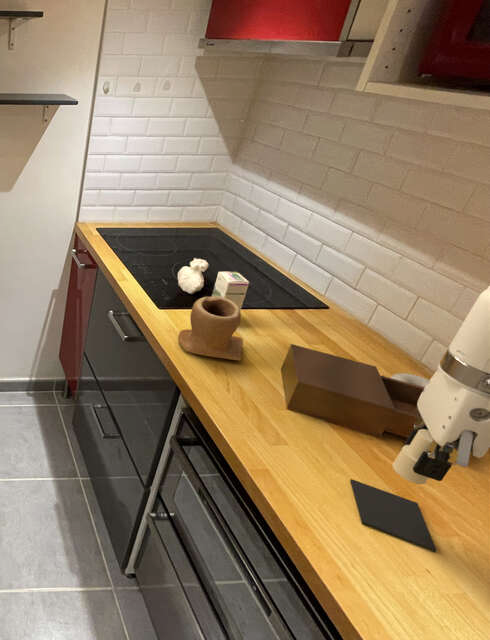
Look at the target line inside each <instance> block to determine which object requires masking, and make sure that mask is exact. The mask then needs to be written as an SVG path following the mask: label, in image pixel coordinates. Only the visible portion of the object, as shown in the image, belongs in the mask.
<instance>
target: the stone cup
mask: <svg viewBox="0 0 490 640" xmlns="http://www.w3.org/2000/svg"><path fill="white" fill-rule="evenodd" d="M241 321H242V313H241V310H240V308H239V307H238V306H237V305H236V304H235V303H234V302H233V301H231V300H229V299H226V298H223V297H218V296H214V297H212V296H203V297H200V298H199V299H198V298H197V300H196V301H195V302H194V303H193V305H192V308H191V312H190V327H191V329H182V330H180V331H179V333H178V343H179V345H180V346H181V347H182V348H183V349H184V350H185V351H186V352H188V353H191V354H194V355H199V356H204V357H210V358H217V359H224V360H232V361H241V359H242V348H243V346H244V339H243V338H242V337H241V336H235V335H234V333H235V332H236V331H237V330H238V328H239V326H240V324H241Z"/></svg>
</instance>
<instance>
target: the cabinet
mask: <svg viewBox="0 0 490 640" xmlns="http://www.w3.org/2000/svg"><path fill="white" fill-rule="evenodd" d="M280 373H281V379H282V381H281V382H282V386H283V394H284V399H285V400H284V401H285V406H286V407H285V408H286V409H287V410H290V411H294V412H296V413H299V414H301V415H305V416H308V417H311V418H315V419H318V420H320V421H324V422H327V423H331V424H333V425H337V426H340V427H342V428H346V429H348V430H352V431H354V432H355V431H356V432H358V433H362V434H365V435H368V436H371V437H374V438H377V439H380V438H381V437H382V435H383V433H384V432H385V431H384V430H385V428H386V426H387V424H388V422H389V421H390V419H391V417H392V415H393V414H394V412H395V408H394V405H393V403H392V401H391V399H390V396H389V394H388V392H387V390H386V388H385V385H384V383H383V381H382V379H381V376H382V375H381V374H380V372H379V370H378V368H377V366H376V365H372V364H368V363H364V362H361V361H357V360H354V359H349V358H345V357H342V356H337V355H335V354H332V353H331V354H330V353H326V352H323V351H318V350H315V349H312V348H308V347H304V346H301V345H296V344H294V343H293V344H292V343H291V344H290V346H289V347H288V351H287V353H286V356H285V358H284V360H283V363H282V365H281V368H280ZM380 375H381V376H380Z"/></svg>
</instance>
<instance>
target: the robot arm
mask: <svg viewBox="0 0 490 640" xmlns="http://www.w3.org/2000/svg"><path fill="white" fill-rule="evenodd" d="M429 380H430V381H429V382H428V384H427V385H426V387H425V388H424V390H423V391H422V393H421V395H420V397H419V399H418V402H417V407H418V410H419V418H418V420H417V421H416V422H415V423H414V429H416V430H414V429H413V430H412V432H411V433H410V435H409V437H408V438H406V440H405V442H404V443H403V445H402V447H403V446H405V445H410V444H411V442H412V440H413V439H414V437H415V436H416V434H417V432H418V431H419V430H420V429H426V430H429V432H430V434H431V436H432V437H433V441H432V443H431V445H430V447H429V450H428V452H424V451H423V453H422V454H421V456H420V457H419V459H418V461H417V462H416V464H415V465H414V467H413V471H414V472H415V473H417V474H419V475H422V476H425V477H428V478H429V479H431V480H434V481H437V482H441V481H443V479H444V478H445V476H446V475H447V473H448V472H449V471H450V469H451V467H452V466H454V467H455V466H456V465H457V466H459V467H462V468H468V466H469V462H470V457H471V455H472V456H473V457H475V458H478V459H481V458H483V457H484V456H485V455H486V454H487V452H488V450H489V449H490V285H489V286H488V287H487V288H486V289H485V290H483V291H482V292H481V293H480V294H479V295H478V297H477V299H476V300H475V301H474V303H473V305H472V306H471V309H470V311H469V312H468V314H467V315H466V317H465V319H464V320H463V322H462V324H461V326H460V328H459V329H458V331H457V332H456V333H455V336H454V337H453V339H452V341H451V343H450V344H449V345H448V348H447V349H446V351H445V353H444V354H443V356H442V358H441V360H440V362H439V363H438V365H437V369H436V371H435V372H434V374H433V375H432V376H431V378H430V379H429ZM453 441H454V442H453ZM441 446H444V447H447V448H451V452H450V453H448V452H445V451H443V450H441V451H439V450H440V447H441Z"/></svg>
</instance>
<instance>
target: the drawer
mask: <svg viewBox="0 0 490 640" xmlns="http://www.w3.org/2000/svg"><path fill="white" fill-rule="evenodd" d="M380 376H381V379H382V381H383V383H384V385H385V388H386V390H387V392H388V394H389V396H390V399H391V401H392V403H393V405H394V408H395V412H394V414H393V415H392V417H391V419H390V421H389V422H388V424H387V426H386V428H385V430H384V431H383V432H387V433H391V434H393V435H397V436H400V437H403V438H406V439H407V438H408V437H409V435H410V433H411V432H412V430H413V429H414V423H415V422H416V421H417V420H418V418H419V410H418V407H417V402H418V399H419V397H420V395H421V393H422V391H423V390H424V388H425V387H421V386H418V385H414V384H410V383H407V382H403V381H399V380H396V379H392V378H391V377H388V376H385V375H381V374H380ZM414 430H416V429H414ZM453 442H454V441H453ZM442 451H445V452H448V453H450V452H451V448H447V447H443V448H442Z"/></svg>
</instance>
